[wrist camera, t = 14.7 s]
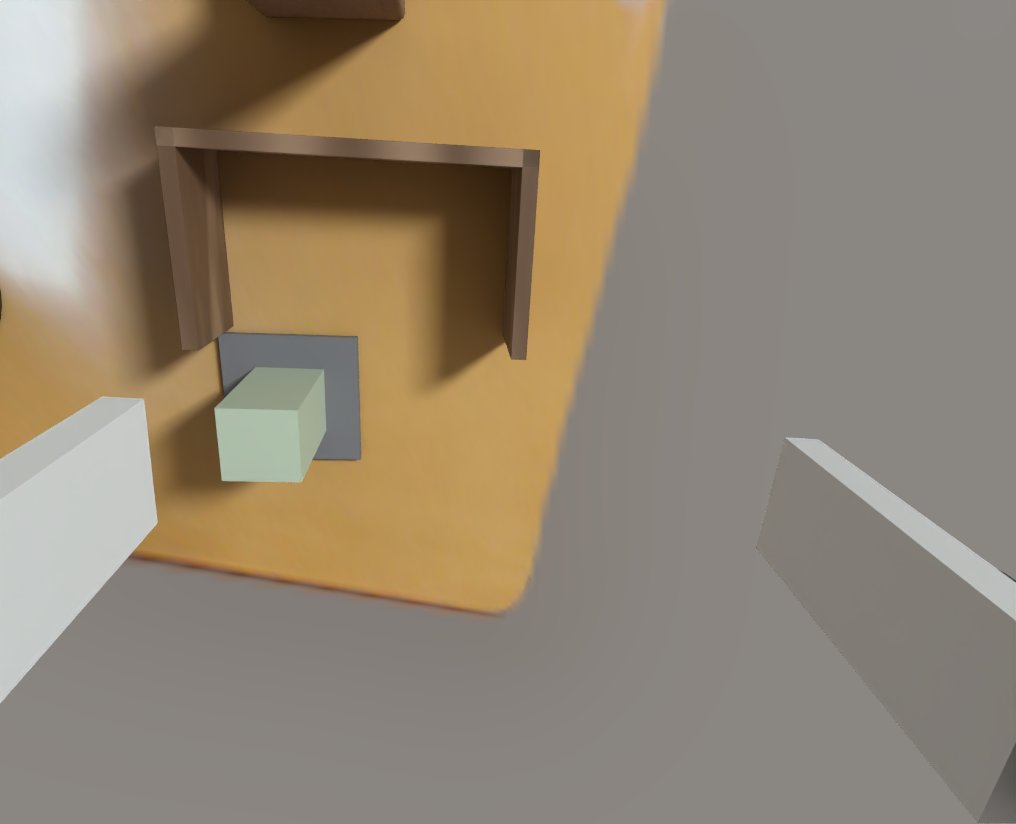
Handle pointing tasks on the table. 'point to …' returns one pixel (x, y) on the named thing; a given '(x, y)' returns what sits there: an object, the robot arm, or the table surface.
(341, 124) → the table surface
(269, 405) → the block
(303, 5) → the wooden block
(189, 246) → the cubby
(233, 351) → the mat
